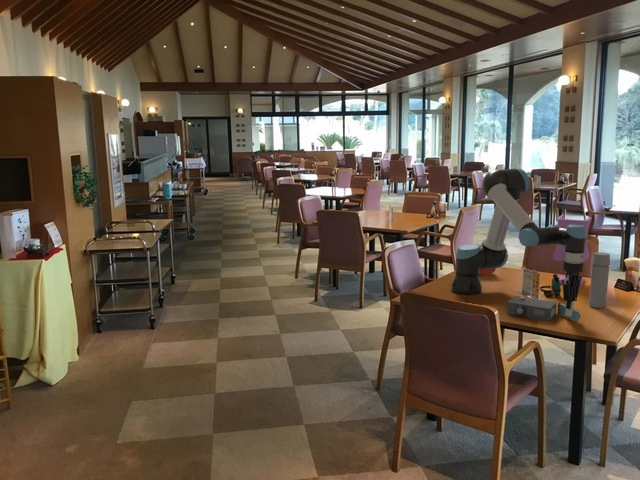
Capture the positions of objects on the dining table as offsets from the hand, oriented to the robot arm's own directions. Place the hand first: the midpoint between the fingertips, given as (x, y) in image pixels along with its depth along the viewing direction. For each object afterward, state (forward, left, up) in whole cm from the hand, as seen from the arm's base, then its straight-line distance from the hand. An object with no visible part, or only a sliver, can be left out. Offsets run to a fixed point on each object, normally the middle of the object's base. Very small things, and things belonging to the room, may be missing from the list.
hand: (569, 315), depth 241 cm
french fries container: (-58, +61, -3) cm, 84 cm away
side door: (-1, +4, -2) cm, 4 cm away
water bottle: (+6, +30, -3) cm, 31 cm away
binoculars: (-16, +35, -3) cm, 39 cm away
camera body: (-16, 0, -2) cm, 16 cm away
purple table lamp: (-14, +68, -3) cm, 70 cm away
